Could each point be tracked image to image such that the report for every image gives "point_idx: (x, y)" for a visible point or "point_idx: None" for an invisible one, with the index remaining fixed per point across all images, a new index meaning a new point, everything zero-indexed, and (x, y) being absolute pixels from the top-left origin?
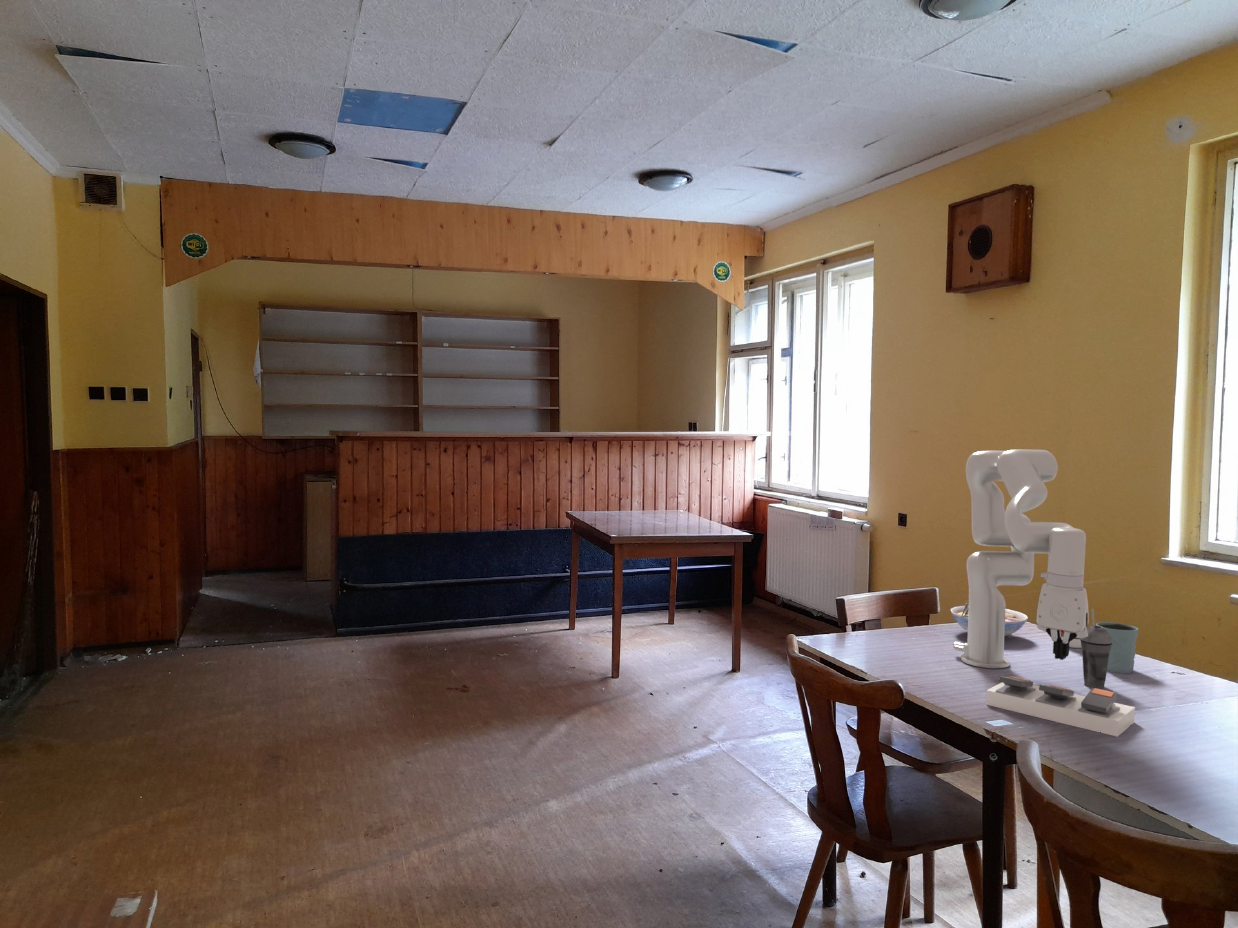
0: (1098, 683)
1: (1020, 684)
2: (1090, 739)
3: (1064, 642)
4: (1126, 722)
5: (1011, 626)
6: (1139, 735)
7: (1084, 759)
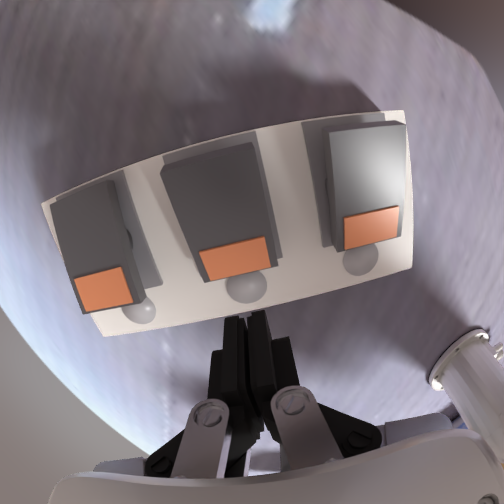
0: None
1: (325, 129)
2: (75, 112)
3: (217, 405)
4: None
5: None
6: (56, 246)
7: (39, 15)
